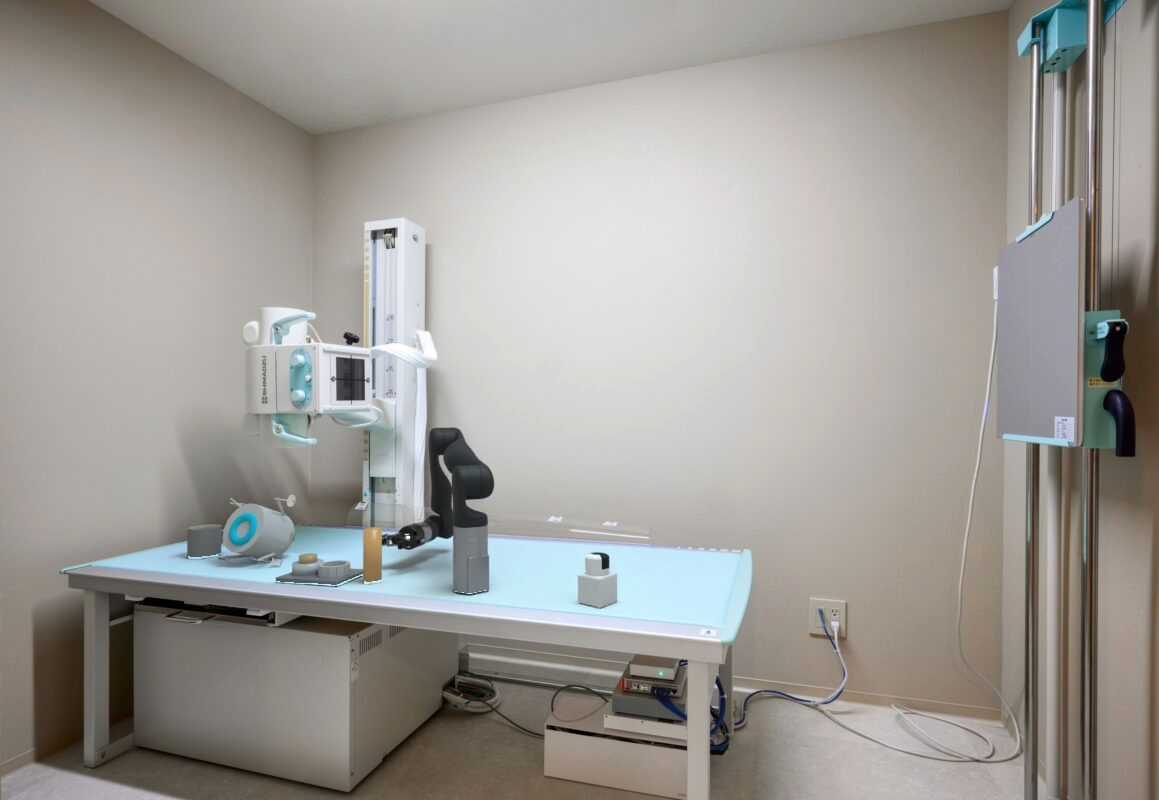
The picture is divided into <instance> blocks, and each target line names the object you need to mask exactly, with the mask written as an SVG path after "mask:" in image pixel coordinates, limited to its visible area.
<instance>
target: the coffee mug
mask: <svg viewBox="0 0 1159 800" xmlns="http://www.w3.org/2000/svg"><path fill="white" fill-rule="evenodd" d="M222 527H223V526H222V524H214V523H213V524H201V525H200V524H199V525H195V526H189V527H188V528H187V536H186V537H187V541H186V542H187V543H186V544H187V545H186V546H187V547H186V550H187V551H186V553H187V554H186V557H187V556H190V557H202V556H211V555H216V554H219V553H221V554H222V544H224V542H223V532H224V528H222Z"/></svg>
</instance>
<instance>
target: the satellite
mask: <svg viewBox="0 0 1159 800" xmlns="http://www.w3.org/2000/svg"><path fill="white" fill-rule="evenodd" d="M229 500H230V501H232V502H229V504H232V505H233V506H236V507H238V508H236V509H235V510H234V511H233V512H232V514H231V515H230V516H229V517H228V519H227V521H226V522H225V525H224V527H223V530H224V532H223V544H224V547H225V549H226V550H228V552H229V553H230V552H231V553H235V554H234V555H225V556H224V555H223V556H218V557H216V559H217V560H219V561H220V560H221V561H225V562H227V560H233V559H241V558H251V561H257V562H268V563H270V565H269V566H273V567H276V566H275V565H278V566H279V565H281V566H282V564H283V562H284V559H281V560H280V558H279V557H280V556H282V555H284V554H285V553H287V551H288V550H289V549H290V547H291V546H292V544H293V543H294V542H295V539H296V531H295V525H294V522H293V521H292V519H291V518H290V517H289V516H288V515H286V513H285V510H284V508H283V504H282V502H281V501H286V505H287V507H290V508H292V507H293V506H294V505H295V503H296V500H297V499H296V495H294V494H290V495H289V496H288V497H287V498H286V499H284V498H283V499H282V498H280V497H279V496H278V497H276V498H275V497H274V500H276V503H277V506H278V509H279V511H277V510H274V509H271V508H268V507H266V506H262V505H259V504H256V503H251V502H250V503H246V504H245V503H241V502H237V501H236V500H234V498H232V497H230V499H229ZM272 558H275V559H272ZM277 558H279V559H277ZM265 559H271V560H265Z"/></svg>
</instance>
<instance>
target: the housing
mask: <svg viewBox="0 0 1159 800" xmlns="http://www.w3.org/2000/svg"><path fill="white" fill-rule="evenodd" d="M291 564H292V565H291V572H288V573H285V574H283V575H279V576H276V577H275V582H276V581H280V582H294V583H318V584H331V585H337V584H340V583H342V582H344V581H347V580H349V579H352V578H354V577H356V576H359V575H361V574H363V568H351V561H349V560H342V559H341V560H340V559H339V560H330V561H329V560H328V561H324V559H321V558H318V554H317V553H303V554H299V555H298V560H296V561H293V562H292V563H291Z"/></svg>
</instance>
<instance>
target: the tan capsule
mask: <svg viewBox="0 0 1159 800" xmlns="http://www.w3.org/2000/svg"><path fill="white" fill-rule="evenodd" d="M362 531H363V536H362V537H363V538H362V540H363V541H362V542H363V545H362V546H363V547H362V549H363V550H362V556H363V558H362V564H363V565H362V569H363V577H362V582H363V581H366V582H372V581H378V580H381V579H382V578H383V575H382V574H383V573H382V572H383V550H382V549H383V546H382V535H383V528H382V527H380V526H379V527H377V526H374V527H370V526H369V527H365V528H363V530H362ZM382 580H383V579H382Z"/></svg>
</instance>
